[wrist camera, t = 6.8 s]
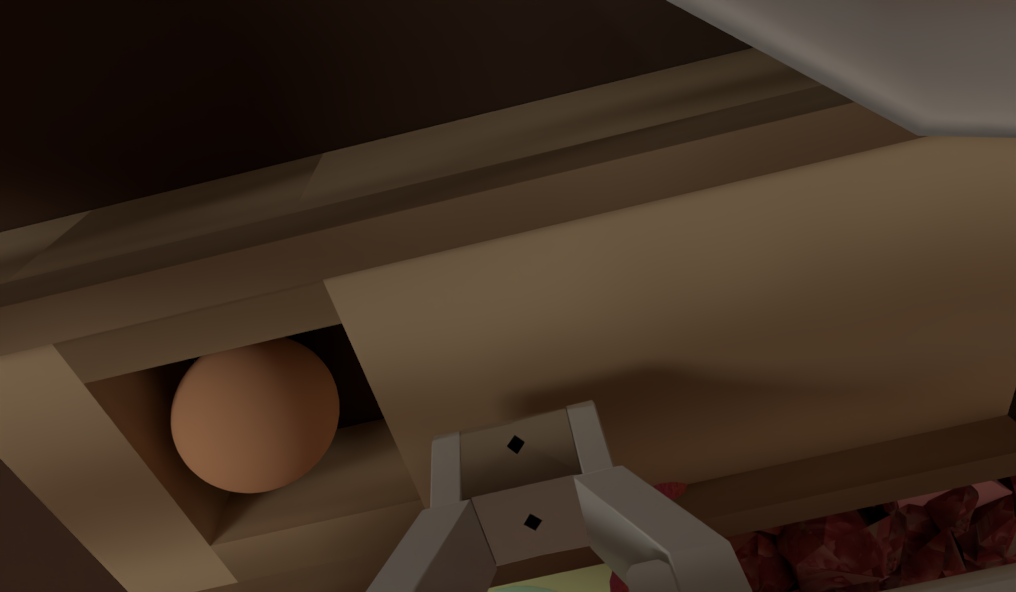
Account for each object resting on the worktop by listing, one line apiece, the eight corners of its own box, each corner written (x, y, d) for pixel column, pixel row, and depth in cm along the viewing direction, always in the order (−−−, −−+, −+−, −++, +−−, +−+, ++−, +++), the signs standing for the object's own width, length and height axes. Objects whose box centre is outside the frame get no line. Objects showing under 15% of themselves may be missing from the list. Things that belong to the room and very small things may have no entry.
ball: (194, 309, 15) (100, 418, 12) (331, 297, 14) (266, 410, 11) (254, 412, 16) (185, 527, 14) (376, 406, 16) (330, 526, 13)
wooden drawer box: (-21, 237, 13) (-188, 352, 9) (985, -10, 12) (1200, 19, 9) (198, 520, 18) (139, 662, 14) (916, 361, 17) (1034, 471, 14)
